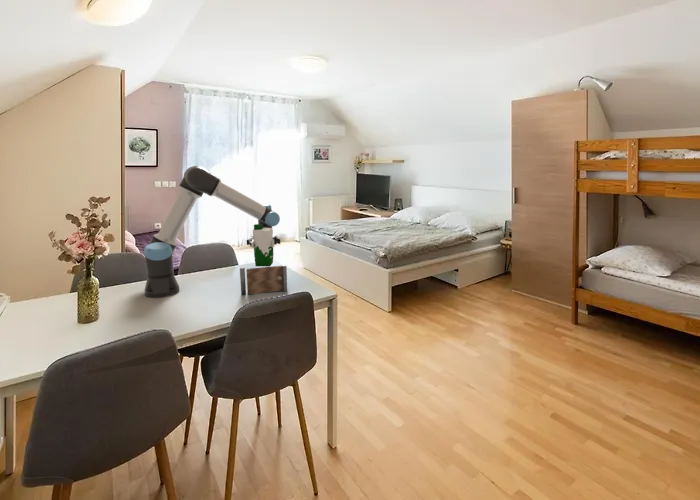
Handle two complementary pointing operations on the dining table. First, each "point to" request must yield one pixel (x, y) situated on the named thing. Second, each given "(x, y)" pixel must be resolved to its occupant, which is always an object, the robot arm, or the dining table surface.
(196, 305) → the dining table surface
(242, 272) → the door frame
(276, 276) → the door
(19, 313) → the dining table surface
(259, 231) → the soya milk
